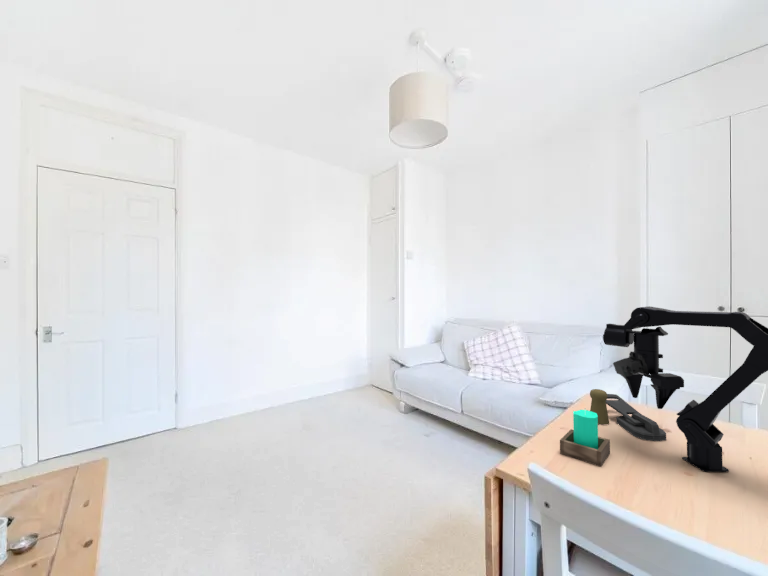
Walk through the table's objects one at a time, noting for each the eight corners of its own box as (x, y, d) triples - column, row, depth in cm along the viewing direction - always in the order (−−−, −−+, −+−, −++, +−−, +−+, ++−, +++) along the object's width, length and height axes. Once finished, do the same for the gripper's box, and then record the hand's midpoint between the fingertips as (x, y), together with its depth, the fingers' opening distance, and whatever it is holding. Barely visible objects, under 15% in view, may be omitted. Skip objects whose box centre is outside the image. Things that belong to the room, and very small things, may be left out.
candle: (592, 445, 96) (592, 404, 96) (602, 456, 90) (601, 412, 90) (570, 444, 97) (569, 403, 97) (578, 454, 91) (577, 411, 91)
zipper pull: (617, 393, 125) (671, 419, 100) (617, 411, 125) (672, 441, 100) (593, 393, 126) (641, 419, 101) (593, 411, 126) (641, 441, 101)
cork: (610, 421, 116) (610, 389, 116) (607, 426, 111) (607, 393, 111) (590, 416, 120) (590, 386, 120) (586, 421, 115) (586, 390, 115)
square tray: (610, 453, 94) (609, 439, 94) (601, 466, 87) (601, 452, 87) (571, 441, 101) (570, 429, 101) (560, 453, 94) (559, 440, 94)
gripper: (598, 344, 106) (598, 393, 106) (643, 356, 87) (643, 415, 87) (632, 344, 106) (633, 392, 106) (685, 356, 87) (686, 415, 87)
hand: (646, 402), depth 97 cm, fingers open, 9 cm apart
